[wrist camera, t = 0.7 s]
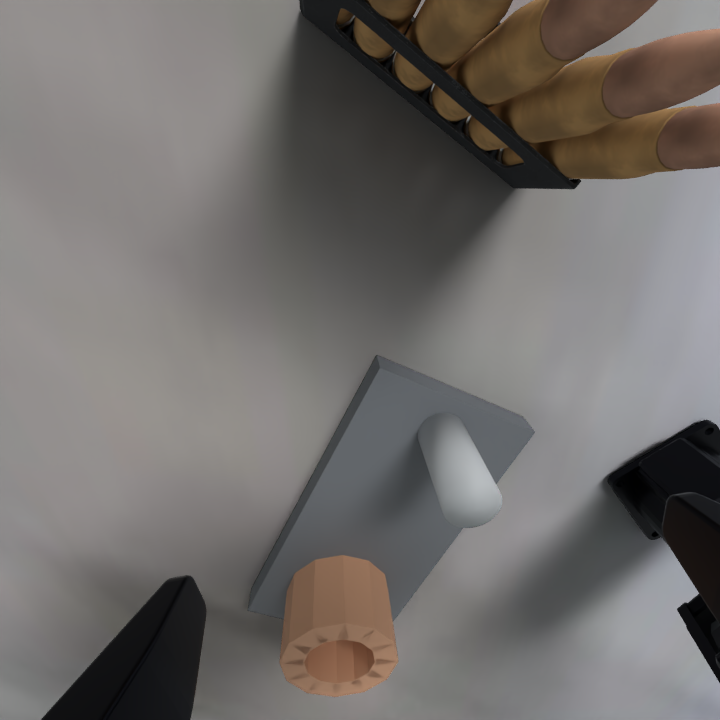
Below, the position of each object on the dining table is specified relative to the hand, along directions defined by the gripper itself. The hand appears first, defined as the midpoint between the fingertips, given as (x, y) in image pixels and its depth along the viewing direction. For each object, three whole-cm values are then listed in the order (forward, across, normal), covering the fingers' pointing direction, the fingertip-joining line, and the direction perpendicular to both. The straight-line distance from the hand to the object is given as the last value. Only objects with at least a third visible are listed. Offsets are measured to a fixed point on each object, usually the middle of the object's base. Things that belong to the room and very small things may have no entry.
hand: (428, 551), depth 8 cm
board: (+13, +1, +11) cm, 17 cm away
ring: (+12, +5, +16) cm, 21 cm away
